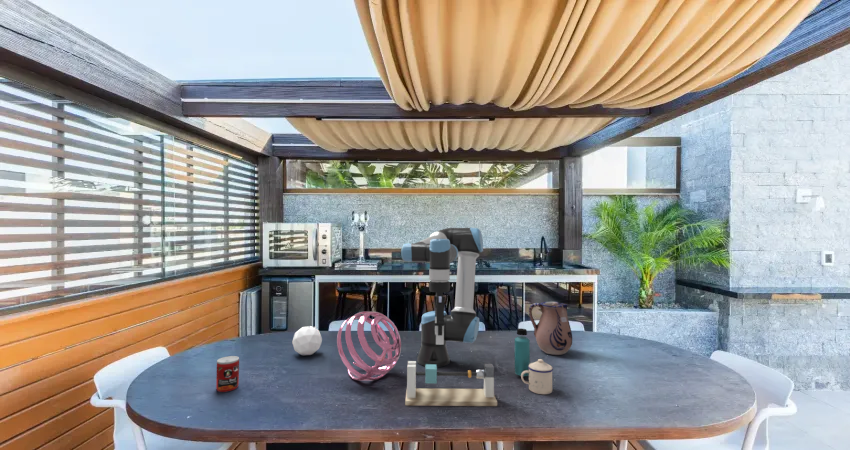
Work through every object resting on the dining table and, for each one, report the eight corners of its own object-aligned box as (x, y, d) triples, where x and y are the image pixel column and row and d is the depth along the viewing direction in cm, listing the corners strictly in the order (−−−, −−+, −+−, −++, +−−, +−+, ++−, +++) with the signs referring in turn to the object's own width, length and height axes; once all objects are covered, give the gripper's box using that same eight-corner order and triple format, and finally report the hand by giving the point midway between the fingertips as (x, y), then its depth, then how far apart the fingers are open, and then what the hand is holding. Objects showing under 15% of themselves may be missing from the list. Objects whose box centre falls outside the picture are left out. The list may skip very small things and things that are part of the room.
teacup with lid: (548, 385, 150) (548, 355, 151) (556, 395, 141) (556, 363, 141) (518, 385, 150) (518, 355, 151) (524, 394, 141) (524, 363, 141)
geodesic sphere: (315, 335, 200) (302, 316, 193) (334, 339, 192) (320, 320, 185) (296, 358, 190) (281, 339, 183) (314, 364, 182) (299, 344, 175)
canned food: (215, 393, 140) (216, 363, 140) (216, 386, 147) (217, 357, 147) (238, 390, 143) (239, 360, 144) (238, 382, 151) (239, 354, 151)
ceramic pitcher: (578, 358, 184) (577, 306, 185) (534, 358, 184) (534, 306, 185) (565, 347, 201) (565, 300, 202) (525, 347, 202) (525, 300, 202)
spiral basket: (316, 326, 163) (355, 295, 151) (366, 330, 183) (404, 304, 171) (325, 393, 148) (369, 365, 136) (378, 390, 167) (421, 365, 155)
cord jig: (405, 405, 131) (405, 369, 132) (406, 392, 142) (406, 358, 143) (497, 406, 132) (497, 369, 132) (491, 392, 143) (491, 359, 143)
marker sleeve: (425, 383, 135) (425, 369, 135) (425, 378, 140) (425, 364, 140) (436, 383, 135) (436, 369, 135) (436, 378, 140) (436, 364, 140)
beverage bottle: (530, 380, 155) (530, 331, 156) (514, 379, 157) (514, 330, 157) (529, 374, 162) (529, 327, 162) (513, 373, 163) (513, 326, 164)
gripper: (452, 285, 127) (451, 349, 126) (447, 277, 152) (447, 330, 151) (429, 284, 127) (429, 348, 126) (429, 277, 152) (428, 330, 151)
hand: (439, 339), depth 138 cm, fingers open, 13 cm apart
